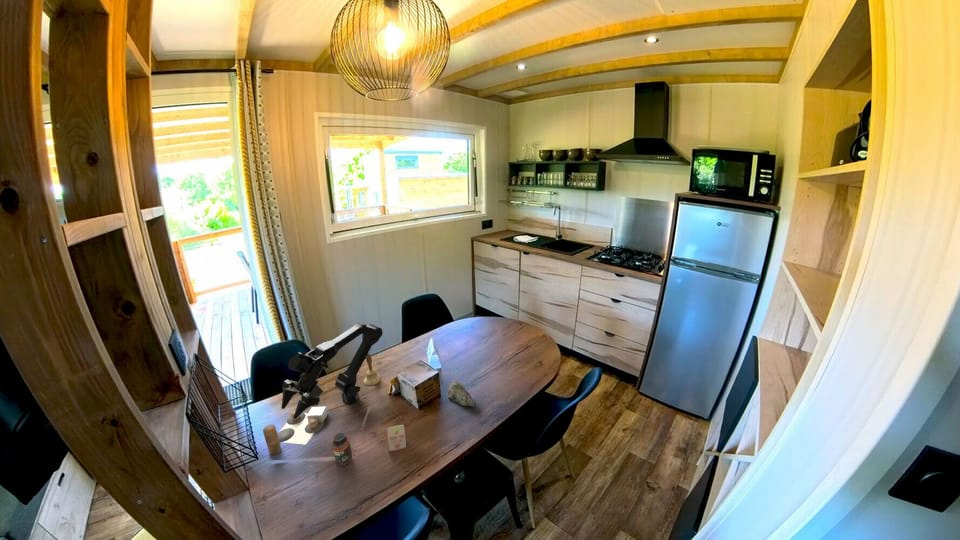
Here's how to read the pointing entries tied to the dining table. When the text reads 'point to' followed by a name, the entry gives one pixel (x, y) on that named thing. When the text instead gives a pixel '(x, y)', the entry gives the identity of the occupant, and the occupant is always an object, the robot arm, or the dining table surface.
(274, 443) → the tan orange cylinder
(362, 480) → the dining table surface
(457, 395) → the mineral rock
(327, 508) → the dining table surface
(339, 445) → the supplement bottle
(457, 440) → the dining table surface
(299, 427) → the board
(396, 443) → the small printed carton
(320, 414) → the housing
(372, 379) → the hand bell
